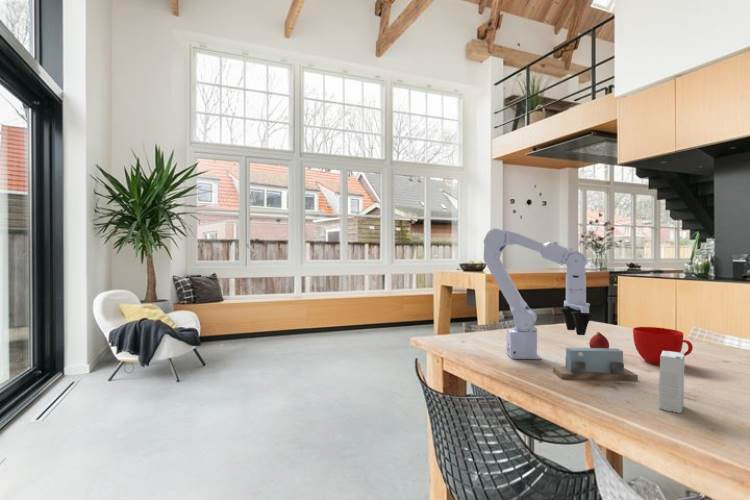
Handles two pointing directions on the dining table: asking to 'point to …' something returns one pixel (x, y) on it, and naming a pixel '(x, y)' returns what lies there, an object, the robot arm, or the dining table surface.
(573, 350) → the pale blue rectangular block
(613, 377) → the rail
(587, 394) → the dining table surface
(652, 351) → the ceramic cup
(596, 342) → the onion
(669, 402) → the skincare box
